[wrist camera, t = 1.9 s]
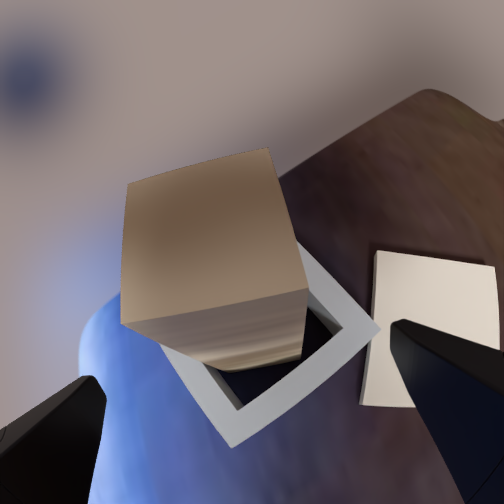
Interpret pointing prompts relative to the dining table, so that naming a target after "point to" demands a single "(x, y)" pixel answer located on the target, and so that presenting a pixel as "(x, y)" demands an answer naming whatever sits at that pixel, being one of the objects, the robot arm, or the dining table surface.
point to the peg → (215, 264)
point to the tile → (425, 313)
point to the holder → (296, 382)
